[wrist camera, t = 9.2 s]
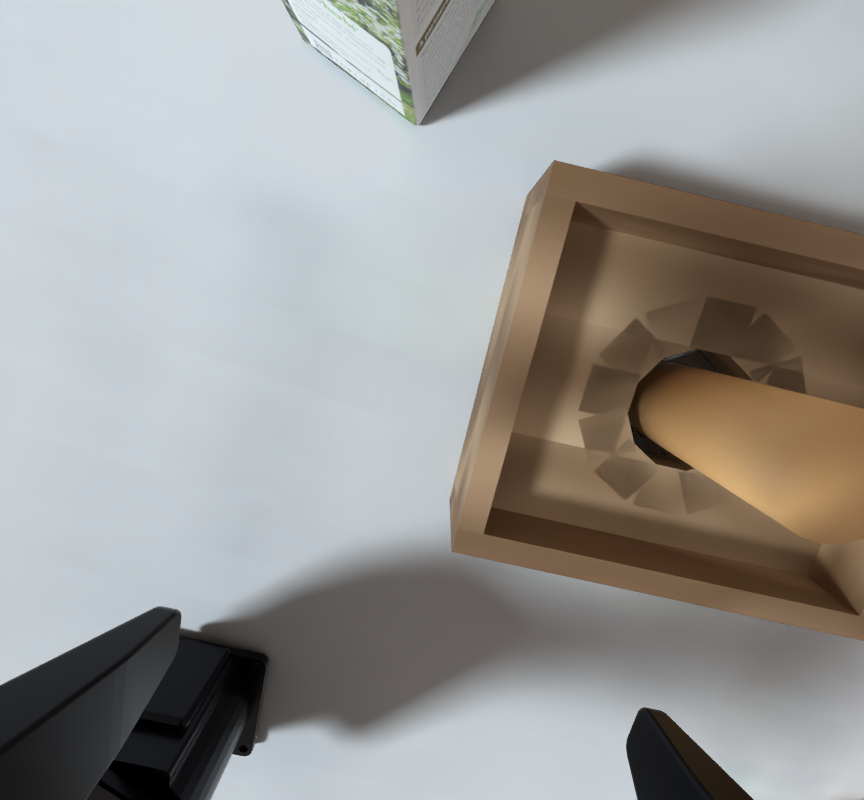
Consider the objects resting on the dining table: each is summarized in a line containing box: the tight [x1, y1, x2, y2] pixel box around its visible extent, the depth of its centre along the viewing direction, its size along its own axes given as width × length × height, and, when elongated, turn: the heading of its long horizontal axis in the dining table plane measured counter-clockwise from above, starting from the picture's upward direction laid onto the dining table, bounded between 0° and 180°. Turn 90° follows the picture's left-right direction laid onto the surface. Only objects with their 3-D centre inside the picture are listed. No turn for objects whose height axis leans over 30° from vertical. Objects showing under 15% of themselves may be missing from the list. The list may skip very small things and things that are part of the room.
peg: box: [628, 362, 864, 544], centre depth 15 cm, size 4×4×9 cm
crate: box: [450, 160, 864, 641], centre depth 17 cm, size 14×17×4 cm
